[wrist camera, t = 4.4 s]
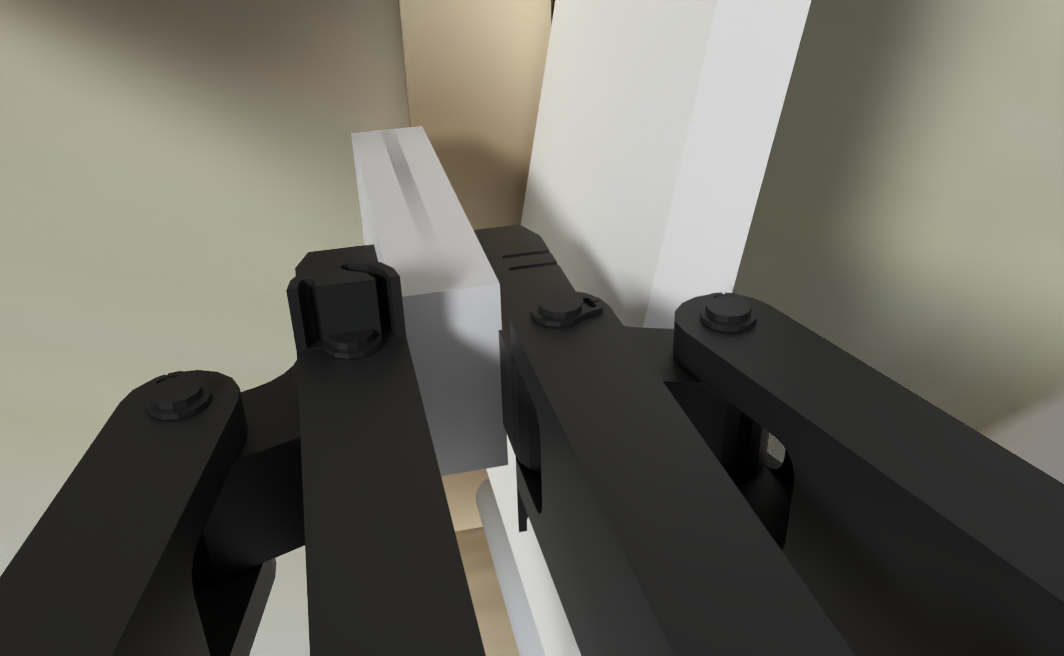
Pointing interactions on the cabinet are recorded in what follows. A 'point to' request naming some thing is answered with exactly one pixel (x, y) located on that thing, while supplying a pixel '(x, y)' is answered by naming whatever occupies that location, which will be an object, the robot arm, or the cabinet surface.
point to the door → (640, 195)
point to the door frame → (478, 181)
